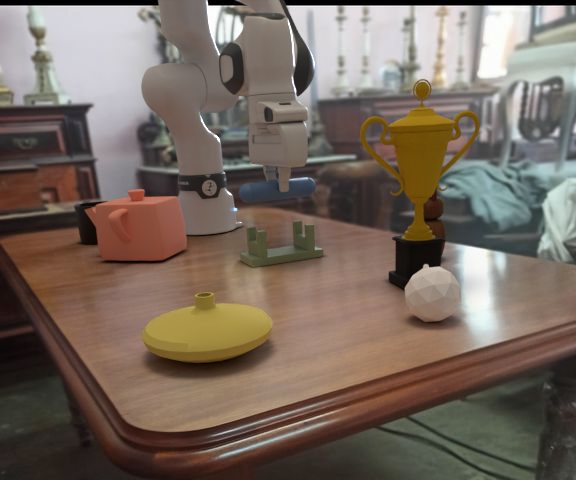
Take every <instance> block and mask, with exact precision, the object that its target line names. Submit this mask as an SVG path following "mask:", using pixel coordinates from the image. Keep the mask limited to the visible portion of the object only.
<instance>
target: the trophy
mask: <svg viewBox="0 0 576 480" xmlns="http://www.w3.org/2000/svg"><path fill="white" fill-rule="evenodd" d="M431 94H432V85H431V82H430V81H429V80H428V79H426V78H420V79H418V80H417V81H415V83H414V84H413V88H412V95H413V97H414V98H415V100H417V101H419V102H420V105H419V106H418V107H416V108H413V109H410V110H409V112H408V113H407V115H406V116H405V117H403V118H400V119H397V120H395V121H393V122H392V123H390V124H389V123H388V121H387V120H386V119H384V118H383V117H380V116H377V115H376V116H370V117H368V118H367V119H366V120H365V121H364V122H363V123H362V125H361V127H360V130H359V139H360V142H361V144H362V147H363V149H364V150H365V151H366V152H367V153H368V154H369V155H370V157H372V159H374V161H376V163H377V164H379V165H380V166H381V167H382V169H385V171H387V172H388V173H389V174H390V175H391V176H393V177H394V178H395V179H396V180H397V181H398V182H399V184H400V189H399V191H398V192H396V193H394V192H392V190H390V191H389V193H390V194H391V195H392V196H395V197H397V196H400V195H401V194H402V193H403V192H404V194H405V195H406V197H407V198H408V199H409V201H410V202H411V203H413V204H414V210H413V211H414V218H413V222H412V223H411V224H410V225H409V226H407V230H405V231H404V234H401V235H395V236H392V237H391V240H392V241H393V242H395V257H394V259H395V261H394V263H395V264H394V265H395V268H394V270H389V271H388V281H389V282H391V283H392V284H394V285H396V286H398V287H399V288H402V289H403V290H405V287H406V285H407V284H408V282H409V280H410V279H411V277H412V276H413V275H414V274H415V273H417V272H418V271H420V270H421V269H423V266H424V265H425V264H428V265H429V268H430V267H442V266H441V265H442V256H441V248H442V242H445V243H446V241H447V239H444V238H442V237H439V236H436V235H433V234H432V230H429V229H430V227H429V226H427V225H426V224H425V222H424V217H423V211H424V209H423V204H424V203H425V202H427V200H428V199H429V197H432V195H433V194H434V192H435V189H436V188H437V190H438V191H440V192H445V191H446V190H448V188H449V187H450V186H449V185H447V186H446V187H445V188H441V187H440V185H439V182H440V179H441V178H442V176H444V174H445V173H446V172H448V170H449V169H450V168H452V167H453V166H454V164H456V163H457V162H458V160H460V159H461V157H463V156H464V154H465V153H466V152H467V151H468V150H469V148H470V147H471V146H472V145H473V143H474V142H475V140H476V139H477V137H478V135H479V132H480V127H481V123H480V120H479V117H478V115H477V114H476V113H475V112H473V111H471V110H463V111H461V112H459V113H458V114H456V115H455V117H454V118H453V120H452V119H450V118H447V117H445V116H441V115H438V114H437V112H436V111H435V110H434V108H432V107H427V106H425V105H424V103H423V102H425V101H427V100H428V99H429V98H430V96H431ZM462 118H469V119H471V120H473V122H474V130H473V134H472V135H471V137H470V138H469V139H468V141H467V142H465V144H464V146H462V148H461V149H460V150H459V151H457V153H456V154H455V155H454V156H453V157H452V158H451V159H450V160H449V161H448V162H447V163H446V164H445V165H444V162H445V158H446V154H447V151H448V145H449V143H450V142H451V141H457V140H458V139H460V138H461V135H462V131H461V128H460V126H459V122H460V120H461V119H462ZM374 123H380V124H381V125H382V126H383V131H382V133H380V134H381V135H380V136H379V137H380V138H379V140H380V143H381V144H382V145H384V146H393V147H394V154H395V159H396V164H397V168H398V171H397V170H396V169H395V168H394V167H392V165H390V164H389V163H388V162H387V161H386V160H384V159H383V157H381V156H380V154H378V153H377V152H376V150H374V149H373V148H372V147H371V146H370V144H369V142H368V141H367V138H366V131H367V129H368V127H369V126H370V125H372V124H374ZM388 131H389V139H387V140H386V136H387V134H388ZM454 131H455V135H454ZM443 165H444V166H443Z"/></svg>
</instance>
